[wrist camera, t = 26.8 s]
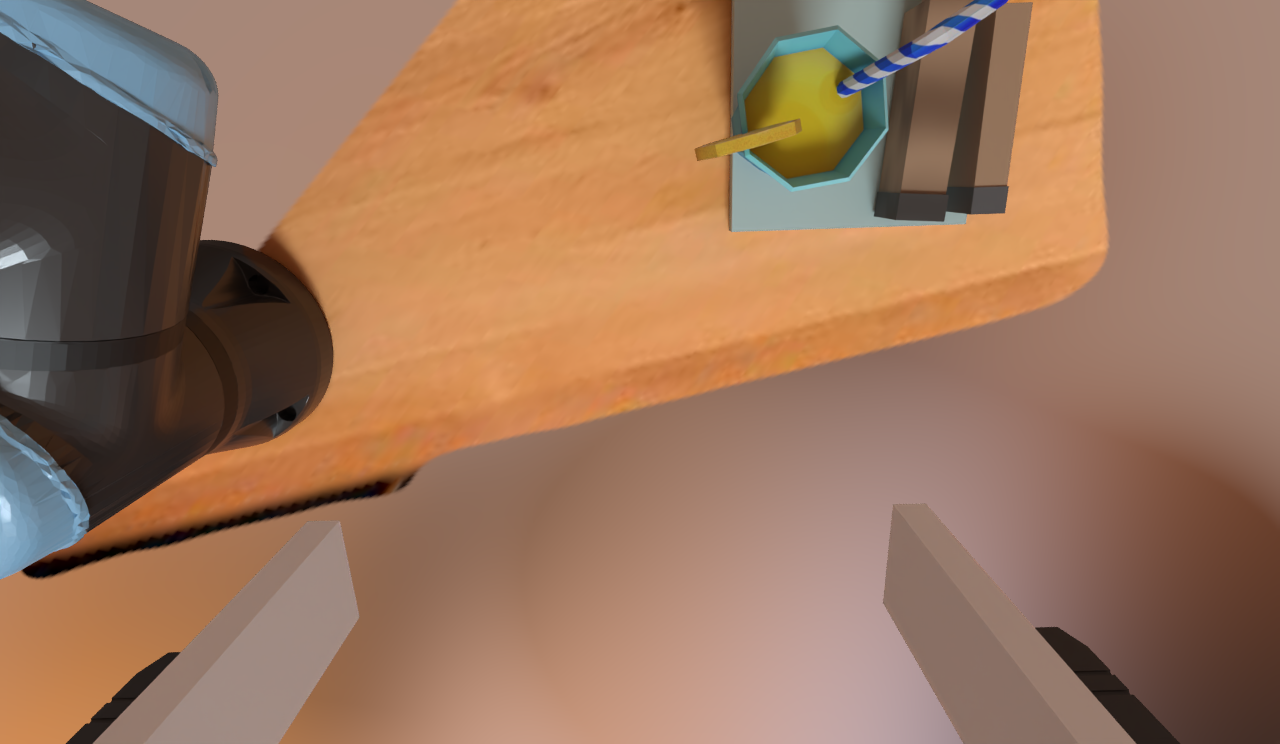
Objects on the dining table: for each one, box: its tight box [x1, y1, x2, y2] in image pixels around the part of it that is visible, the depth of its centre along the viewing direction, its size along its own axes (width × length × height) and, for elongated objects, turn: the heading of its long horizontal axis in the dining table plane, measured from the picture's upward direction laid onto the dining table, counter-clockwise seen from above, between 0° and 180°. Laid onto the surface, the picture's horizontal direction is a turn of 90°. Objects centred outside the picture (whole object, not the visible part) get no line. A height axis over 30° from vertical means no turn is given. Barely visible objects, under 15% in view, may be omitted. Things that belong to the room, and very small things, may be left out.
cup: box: [695, 0, 1008, 192], centre depth 33 cm, size 14×8×15 cm, turn 123°
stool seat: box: [729, 0, 1033, 232], centre depth 38 cm, size 16×20×5 cm
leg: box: [874, 0, 976, 222], centre depth 37 cm, size 16×3×4 cm, turn 178°
